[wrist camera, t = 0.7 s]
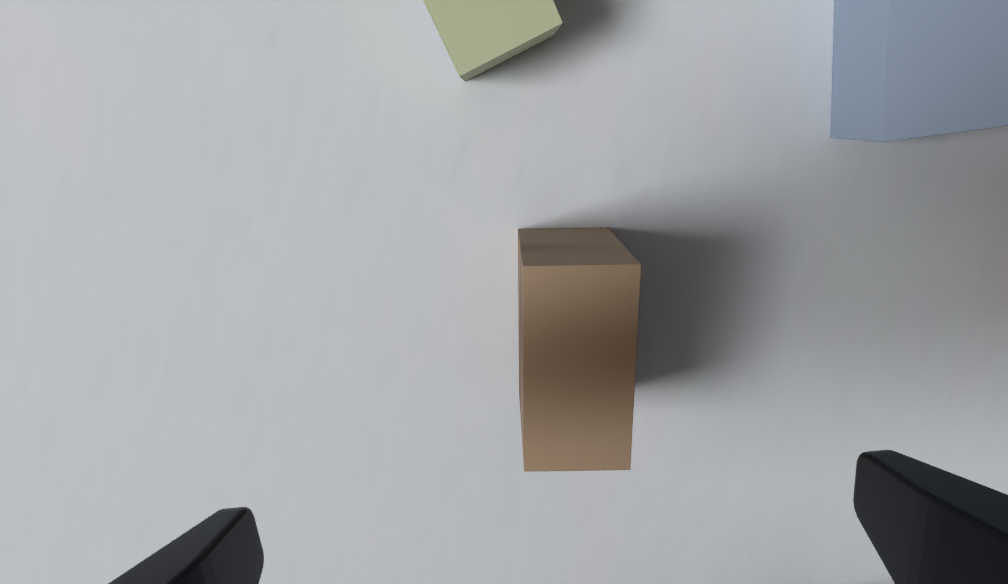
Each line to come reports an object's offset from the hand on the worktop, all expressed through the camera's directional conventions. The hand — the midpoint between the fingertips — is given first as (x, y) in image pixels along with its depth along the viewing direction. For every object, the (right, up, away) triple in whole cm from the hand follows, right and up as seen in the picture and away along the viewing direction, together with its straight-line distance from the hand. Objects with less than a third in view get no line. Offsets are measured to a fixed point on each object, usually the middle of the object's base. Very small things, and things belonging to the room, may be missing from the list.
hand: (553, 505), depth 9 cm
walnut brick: (+1, +2, +12) cm, 12 cm away
